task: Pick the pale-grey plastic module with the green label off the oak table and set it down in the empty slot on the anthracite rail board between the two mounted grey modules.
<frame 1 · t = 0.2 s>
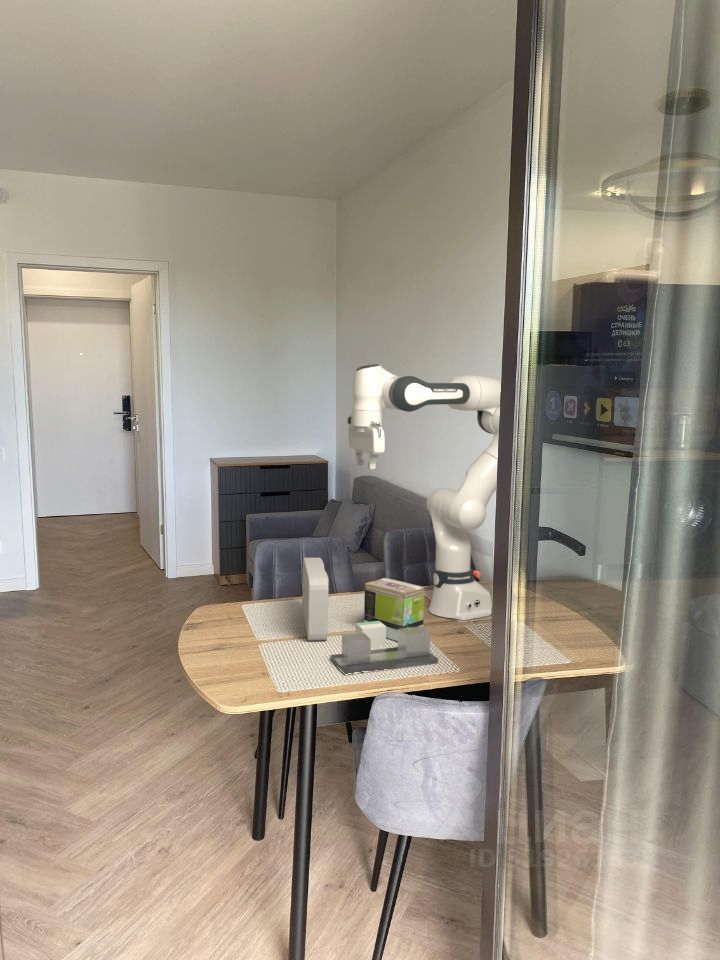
hand: (365, 466, 218), 47 cm above the table, fingers open, 8 cm apart
module: (370, 645, 204), on the table
tea box: (393, 634, 214), on the table
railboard: (384, 661, 193), on the table
rounded white slab: (313, 626, 219), on the table
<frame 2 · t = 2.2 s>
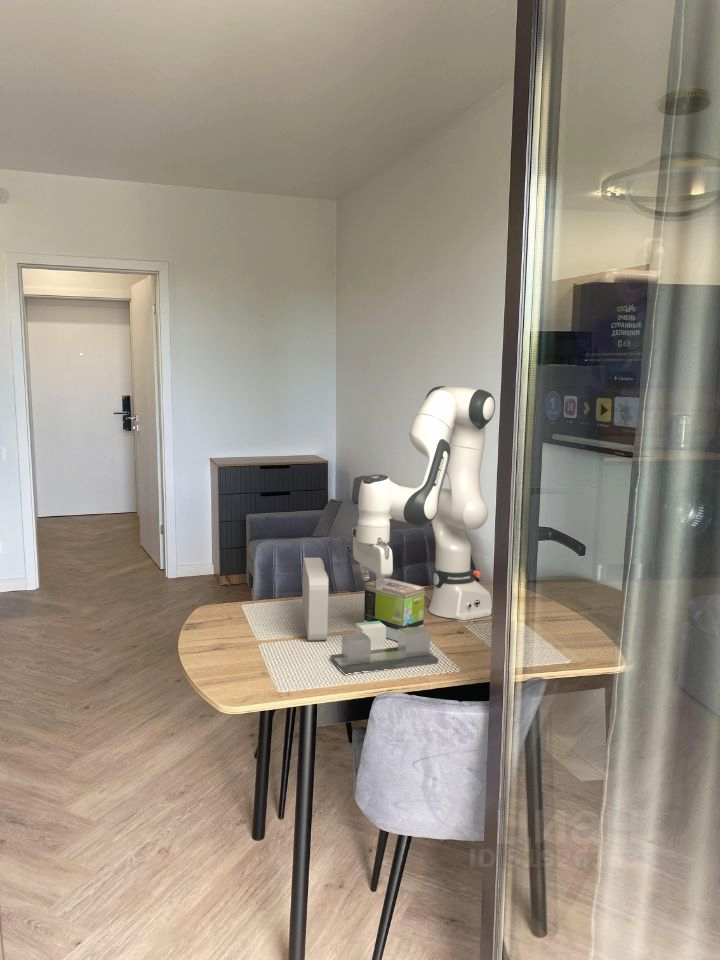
hand: (371, 584, 202), 17 cm above the table, fingers open, 8 cm apart
nothing on the table moved.
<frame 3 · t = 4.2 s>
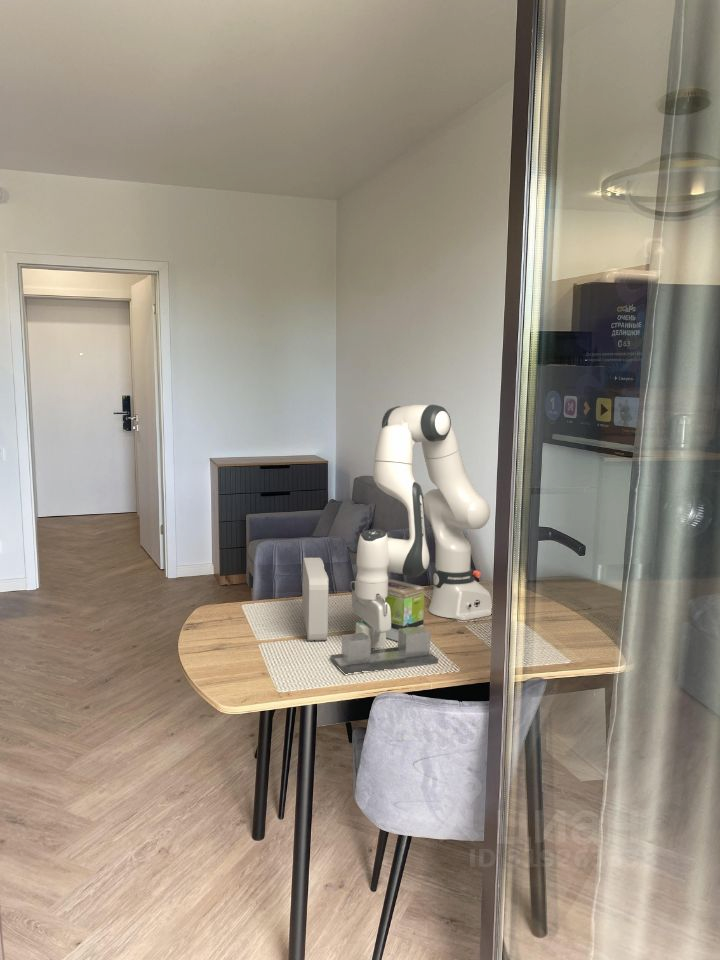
hand: (370, 637, 204), 2 cm above the table, fingers closed on module, 5 cm apart
module: (370, 645, 204), on the table, touching gripper
everything else where it was.
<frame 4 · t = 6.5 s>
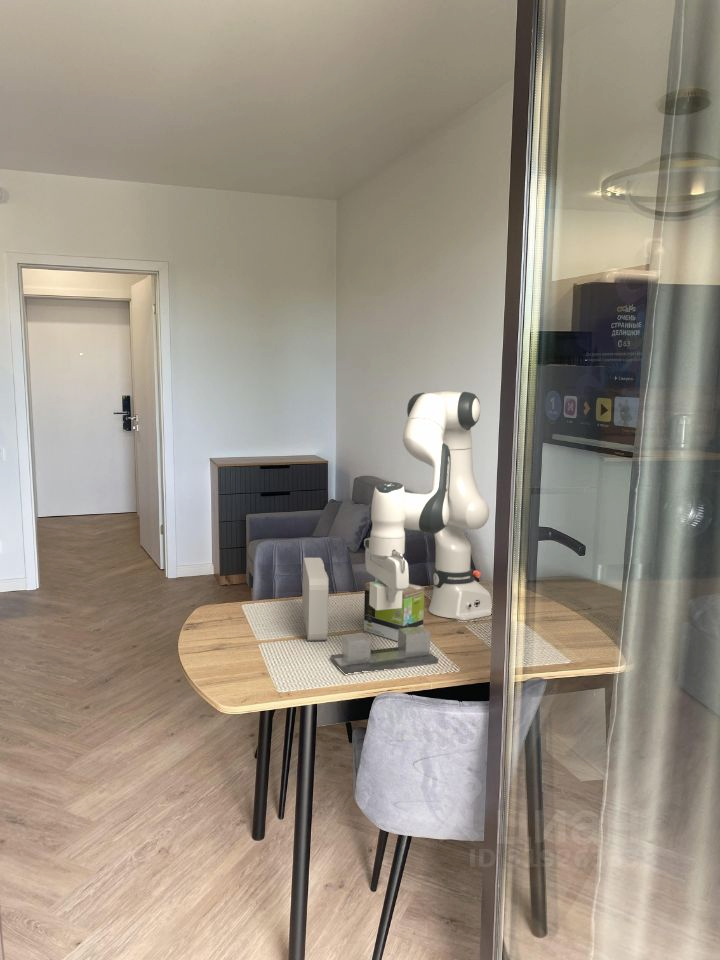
hand: (385, 598, 191), 17 cm above the table, fingers closed on module, 5 cm apart
module: (385, 606, 191), point 15 cm above the table, touching gripper
everything else where it was.
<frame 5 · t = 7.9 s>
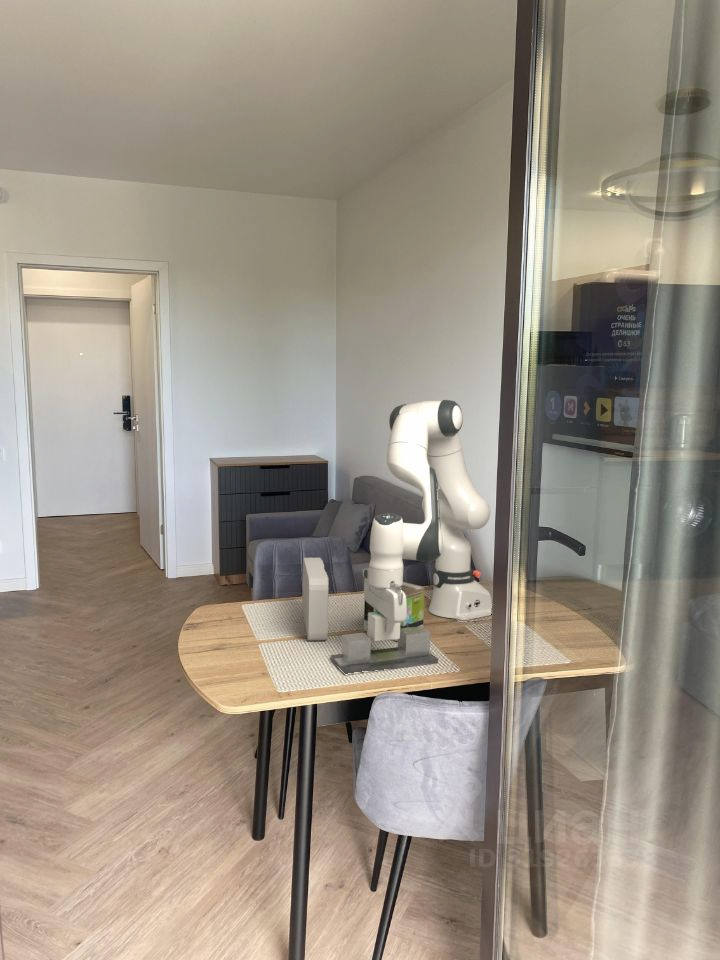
hand: (384, 628, 192), 9 cm above the table, fingers closed on module, 5 cm apart
module: (383, 636, 192), point 7 cm above the table, touching gripper
everything else where it was.
when the fingers open (5 cm above the table, at t = 9.1 s): module drops 1 cm, resting on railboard.
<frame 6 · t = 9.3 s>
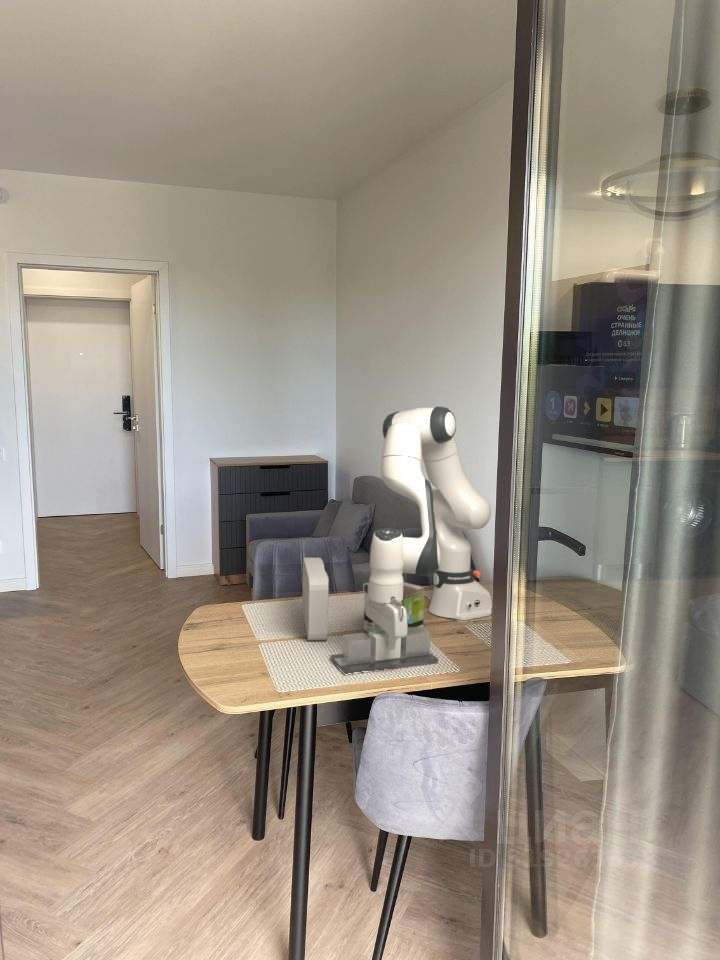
hand: (384, 643, 192), 5 cm above the table, fingers open, 7 cm apart
module: (384, 655, 193), point 1 cm above the table, touching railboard
everything else where it was.
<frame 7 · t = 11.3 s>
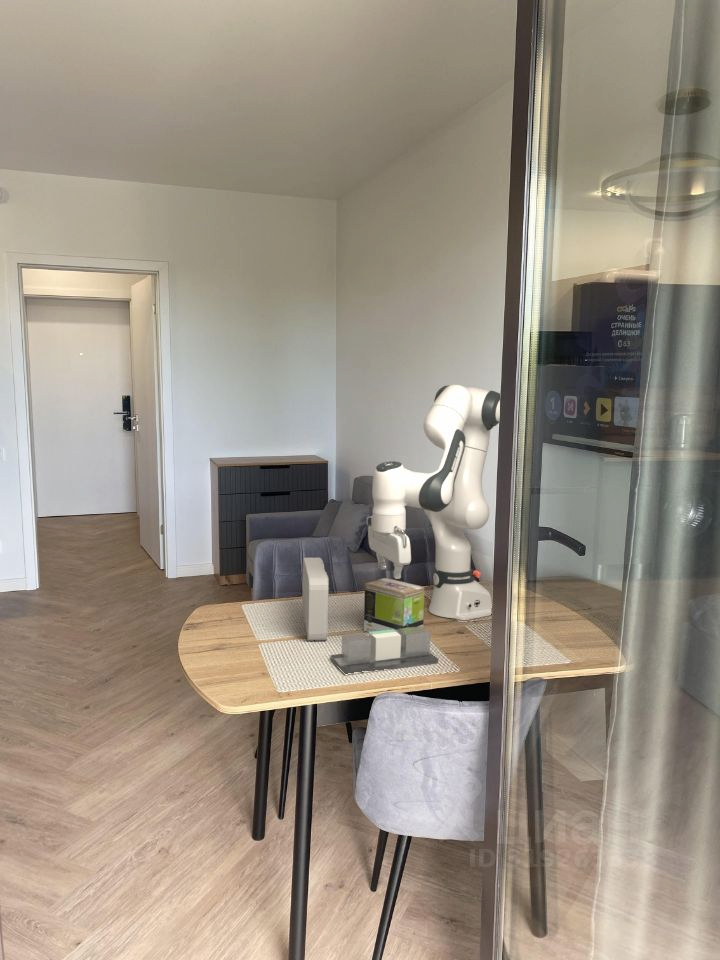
hand: (389, 573, 198), 21 cm above the table, fingers open, 8 cm apart
nothing on the table moved.
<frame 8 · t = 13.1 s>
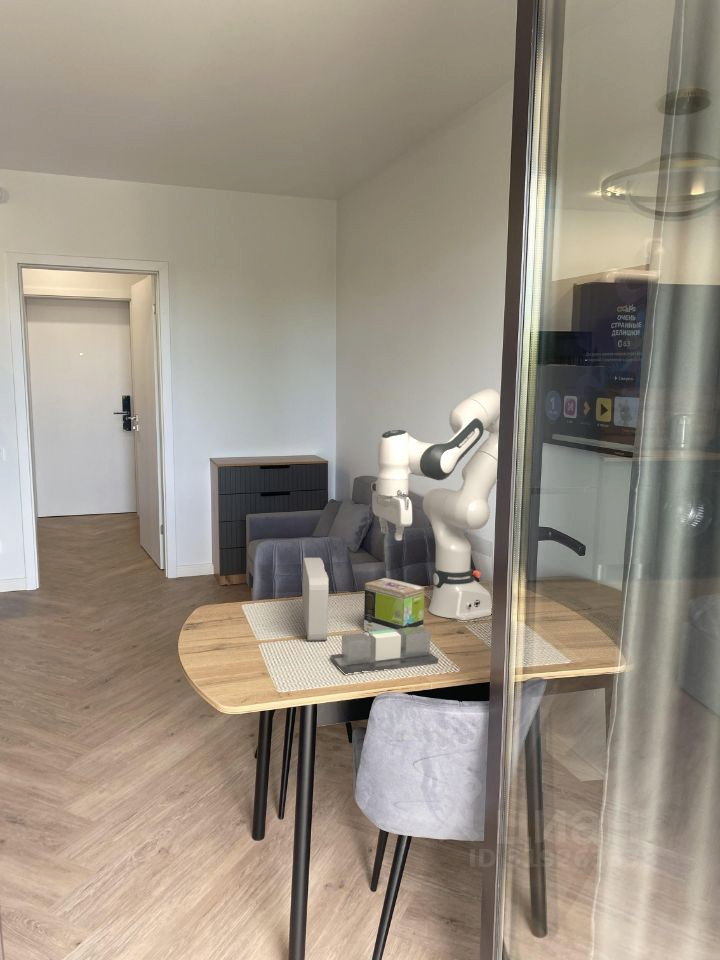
hand: (391, 536, 209), 29 cm above the table, fingers open, 8 cm apart
nothing on the table moved.
at the end: module 0.1 cm off-centre on the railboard, point 1.5 cm above the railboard's base; module tilted 0°; the gripper is holding nothing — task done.
